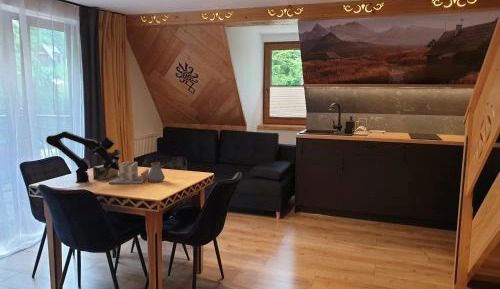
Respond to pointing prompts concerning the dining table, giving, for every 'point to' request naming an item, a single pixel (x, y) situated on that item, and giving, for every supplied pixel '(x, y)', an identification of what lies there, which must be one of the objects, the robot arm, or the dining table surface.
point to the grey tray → (139, 180)
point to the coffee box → (104, 172)
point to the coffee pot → (156, 173)
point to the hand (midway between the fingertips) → (121, 170)
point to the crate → (128, 171)
